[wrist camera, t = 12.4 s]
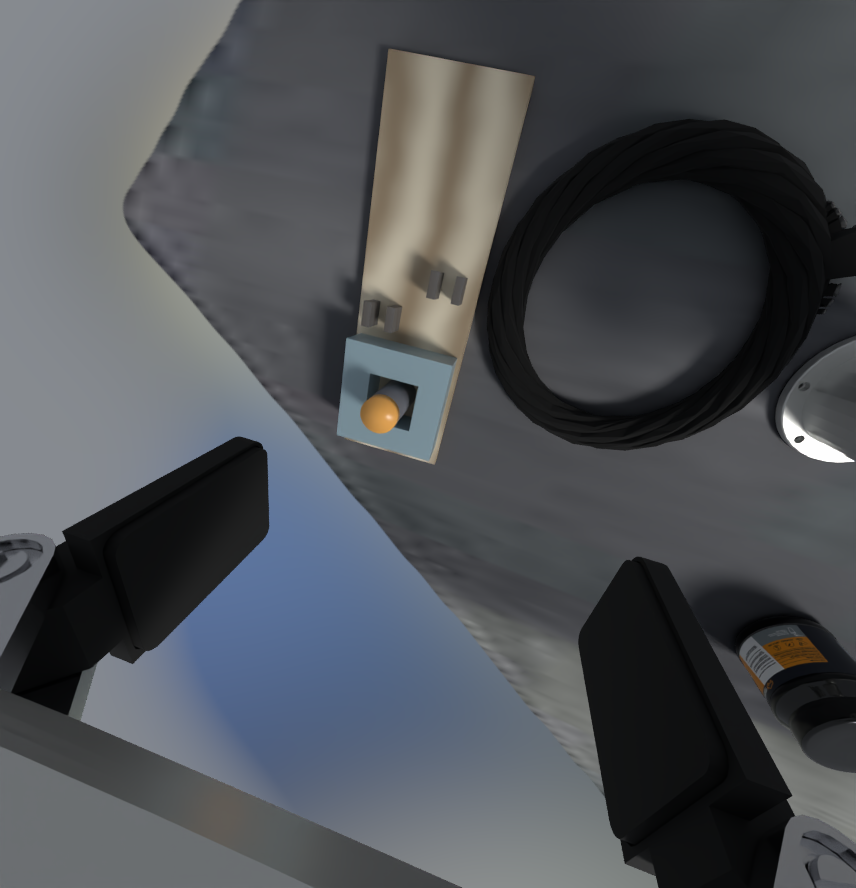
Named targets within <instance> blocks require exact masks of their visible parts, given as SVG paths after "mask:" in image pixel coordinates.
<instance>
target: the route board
mask: <svg viewBox="0 0 856 888" xmlns="http://www.w3.org/2000/svg"><path fill="white" fill-rule="evenodd" d="M534 80H535V76H532V75H526V74H521V73H516V72H511V71H505V70H500V69H495V68H489V67H484V66H479V65H474V64H468V63H463V62H458V61H452V60H447V59H442V58H437V57H431V56H426V55H421V54H415V53H410V52H405V51H400V50H394V49H389V50H388V59H387V68H386V77H385V85H384V94H383V103H382V112H381V121H380V130H379V139H378V148H377V157H376V166H375V175H374V184H373V192H372V201H371V210H370V219H369V228H368V237H367V246H366V255H365V264H364V273H363V282H362V291H361V299H360V308H359V317H358V326H357V334H360V333H363V334H367V335H371V336H375V337H379V338H382V339H386V340H390V341H394V342H398V343H402V344H405V345H409V346H413V347H417V348H421V349H425V350H428V351H432V352H436V353H440V354H444V355H448V356H452V357H455V358H457V362H456V366H455V370H454V374H453V378H452V381H451V385H450V389H449V393H448V397H447V401H446V405H445V409H444V413H443V417H442V421H441V425H440V429H439V433H438V437H437V441H436V445H435V448H434V450H433V453H432V455H431V458H430V460H429V461H426V460H423V459H419V458H416V457H412V456H409V455H405V454H402V453H398V452H395V451H391V450H388V449H384V448H381V447H377V446H374V445H370V444H367V443H364V442H360V441H357V440H353V439H350V438H346V437H345V439H348V440H351V441H355V442H358V443H362V444H365V445H369V446H372V447H376V448H379V449H383V450H386V451H390V452H393V453H396V454H400V455H403V456H407V457H410V458H414V459H417V460H421V461H424V462H428V463H431V464H435V462H436V459H437V455H438V452H439V448H440V444H441V440H442V436H443V432H444V428H445V425H446V421H447V417H448V413H449V409H450V405H451V401H452V398H453V394H454V390H455V386H456V382H457V378H458V374H459V371H460V367H461V363H462V359H463V355H464V351H465V347H466V344H467V340H468V336H469V332H470V328H471V324H472V320H473V317H474V313H475V309H476V305H477V301H478V297H479V293H480V290H481V286H482V282H483V278H484V274H485V270H486V266H487V263H488V259H489V255H490V251H491V247H492V243H493V239H494V236H495V232H496V228H497V224H498V220H499V216H500V212H501V209H502V205H503V201H504V197H505V193H506V189H507V185H508V182H509V178H510V174H511V170H512V166H513V162H514V158H515V155H516V151H517V147H518V143H519V139H520V135H521V131H522V128H523V124H524V120H525V116H526V112H527V108H528V104H529V101H530V97H531V93H532V89H533V85H534ZM391 380H392V379H389V378H385V377H382V376H380V383H379V389H378V391H379V390H380V389H381V388H382V387H384V386H385V385H386V384H387V383H388V382H390V381H391ZM414 387H415V390H416V395H417V391H418V386H415V385H414ZM415 400H416V397H415ZM415 400H414V402H413V403H412V404H411V406H410V407H409V408H408V409H407V411H406V412H405V413H404V414H403V415H406V416H410V417H412V415H413V410H414V405H415Z"/></svg>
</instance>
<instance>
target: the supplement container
mask: <svg viewBox="0 0 856 888" xmlns="http://www.w3.org/2000/svg"><path fill="white" fill-rule="evenodd" d="M735 650H736V654H737V656H738V658H739V659H740V661H741V662H742V664H743V665H744V666H745V668H746V669H747V671H748V672H749V674H750V676H751V677H752V679H753V680H754V682H755V684H756V685H757V687H758V688H759V690H760V691H761V693H762V695H763V696H764V698H765V699H766V701H767V702H768V704H769V706H770V707H771V710H772V712H773V714H774V716H775V717H776V719H777V720H778V721H779V722H780V723H781V724H782V725H783V726H784V727H786V728H787V729H789V730H790V731H791V733H792V735H793V737H794V738H795V740H796V741H797V743H798V744H799V746H800V748H801V749H802V751H803V752H804V753H805V755H806V756H807V757H809V758H810V759H811V760H813V761H814V762H816V763H818V764H820V765H822V766H824V767H827V768H830V769H834V770H838V771H843V772H850V773H856V660H855V659H854V658H853V657H852V656H851V655H850V654H849V653H848V652H847V651H846V650H845V648H844V647H843V646H842V645H841V644H840V643H839V642H838V641H837V639H836V638H835V637H834V636H833V635H832V634H831V633H830V632H829V631H828V630H827V629H826V628H824V627H823V626H821V625H819V624H818V623H816V622H813V621H811V620H808V619H804V618H799V617H791V616H778V617H770V618H765V619H762V620H759V621H756V622H754V623H752V624H750V625H748V626H747V627H746V628H744V629H743V630H742V631H741V632H740V633H739V635H738V636H737V638H736V641H735Z"/></svg>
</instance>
